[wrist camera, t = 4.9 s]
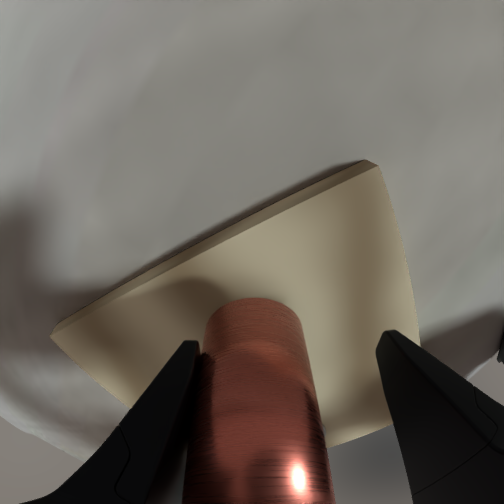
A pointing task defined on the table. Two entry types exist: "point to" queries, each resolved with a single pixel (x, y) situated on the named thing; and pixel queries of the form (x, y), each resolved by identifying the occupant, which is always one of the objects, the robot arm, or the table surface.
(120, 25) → the table surface
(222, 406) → the lever
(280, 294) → the board
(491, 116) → the table surface
